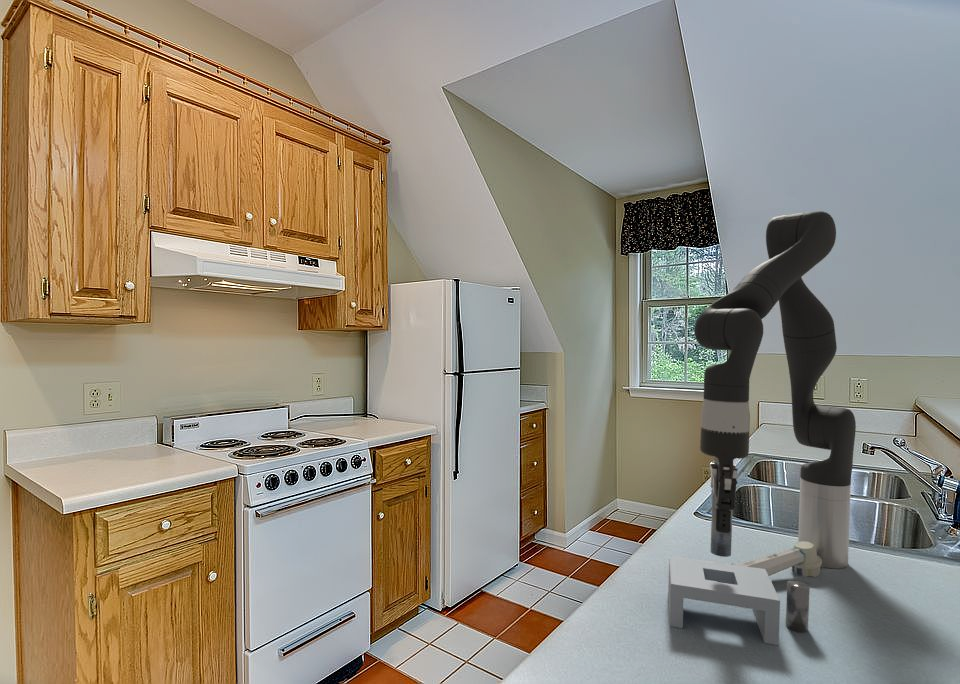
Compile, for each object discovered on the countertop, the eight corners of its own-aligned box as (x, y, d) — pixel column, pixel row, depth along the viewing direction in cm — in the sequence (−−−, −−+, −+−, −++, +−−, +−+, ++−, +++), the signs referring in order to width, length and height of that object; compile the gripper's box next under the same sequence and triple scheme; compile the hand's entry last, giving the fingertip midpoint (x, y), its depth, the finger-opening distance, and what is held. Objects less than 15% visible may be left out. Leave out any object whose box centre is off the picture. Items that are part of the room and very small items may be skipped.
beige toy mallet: (712, 564, 106) (802, 531, 115) (714, 597, 106) (804, 562, 115) (734, 576, 101) (826, 540, 110) (736, 610, 101) (828, 572, 111)
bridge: (668, 593, 101) (669, 555, 101) (764, 608, 96) (765, 569, 96) (669, 625, 90) (670, 583, 90) (778, 645, 85) (780, 600, 85)
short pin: (783, 620, 92) (785, 579, 92) (805, 624, 91) (806, 582, 91) (787, 630, 89) (789, 587, 89) (810, 634, 88) (811, 591, 88)
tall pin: (709, 548, 95) (711, 479, 95) (729, 550, 94) (732, 481, 94) (711, 555, 92) (713, 483, 92) (732, 557, 91) (734, 486, 91)
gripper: (756, 435, 85) (752, 546, 85) (742, 422, 98) (739, 517, 98) (704, 431, 87) (700, 539, 87) (698, 419, 100) (694, 512, 101)
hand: (721, 527), depth 93 cm, fingers closed on tall pin, 3 cm apart
